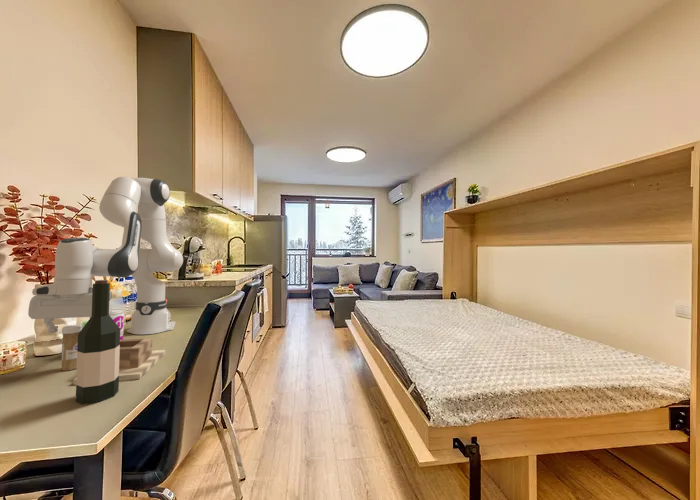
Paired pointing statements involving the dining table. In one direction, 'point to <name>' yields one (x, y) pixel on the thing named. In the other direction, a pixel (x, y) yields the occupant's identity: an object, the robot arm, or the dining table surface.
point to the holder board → (138, 370)
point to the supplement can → (118, 320)
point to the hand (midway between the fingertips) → (71, 331)
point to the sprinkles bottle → (70, 346)
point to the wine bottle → (98, 351)
